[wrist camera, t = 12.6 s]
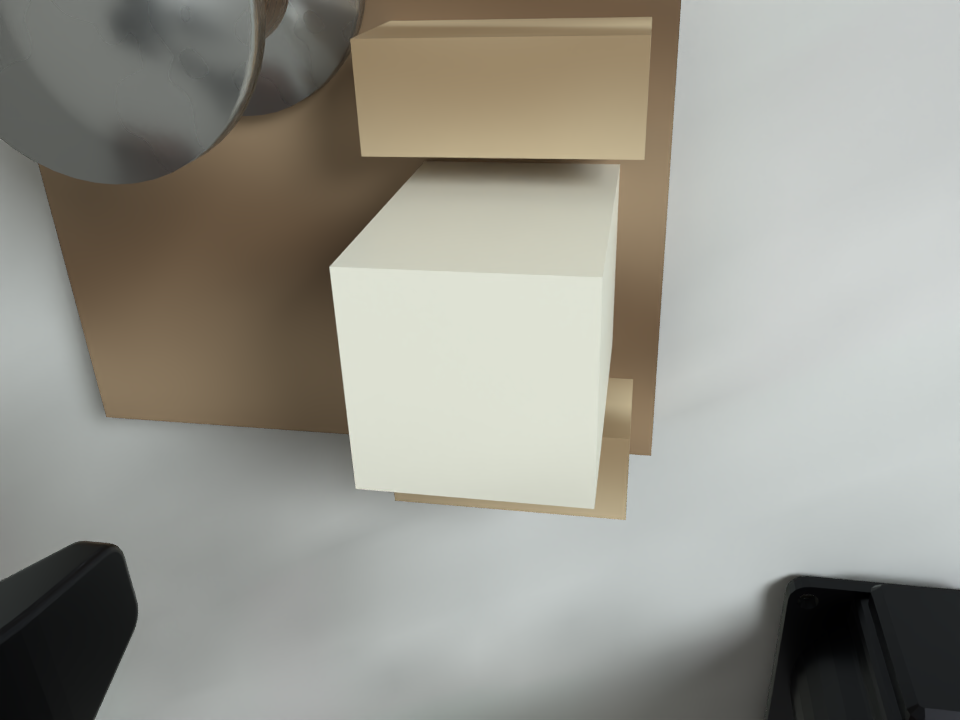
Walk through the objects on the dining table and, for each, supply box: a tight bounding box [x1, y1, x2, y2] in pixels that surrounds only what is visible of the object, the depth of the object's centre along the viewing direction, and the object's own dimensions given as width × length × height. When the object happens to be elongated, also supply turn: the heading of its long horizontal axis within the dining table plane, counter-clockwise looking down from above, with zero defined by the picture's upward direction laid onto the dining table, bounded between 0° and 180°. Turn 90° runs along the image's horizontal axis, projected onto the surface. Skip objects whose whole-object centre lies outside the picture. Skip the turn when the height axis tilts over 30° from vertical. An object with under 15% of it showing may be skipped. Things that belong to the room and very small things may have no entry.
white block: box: [329, 161, 620, 509], centre depth 16 cm, size 4×4×6 cm
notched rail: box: [350, 17, 652, 520], centre depth 18 cm, size 10×5×2 cm, turn 2°
